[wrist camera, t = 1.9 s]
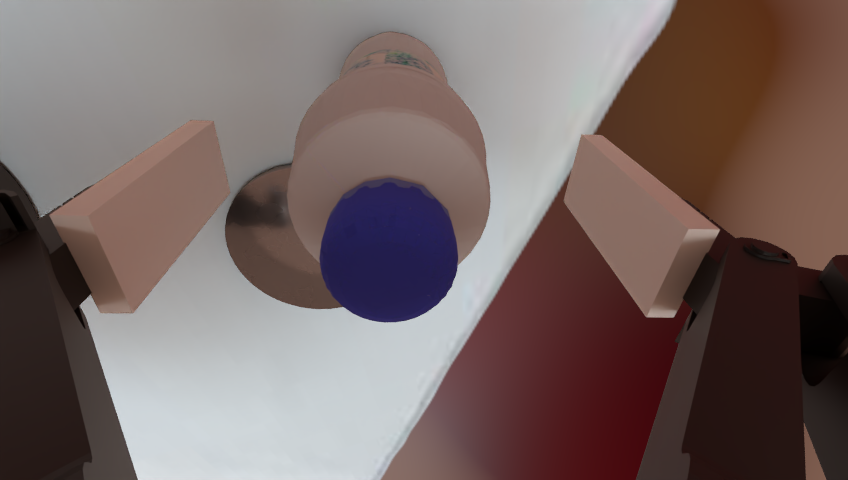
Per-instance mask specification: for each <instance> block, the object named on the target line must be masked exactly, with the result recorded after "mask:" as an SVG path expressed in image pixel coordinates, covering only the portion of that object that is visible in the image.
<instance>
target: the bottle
mask: <svg viewBox="0 0 848 480" xmlns="http://www.w3.org/2000/svg"><path fill="white" fill-rule="evenodd" d="M287 199H288V208H289V214H290V217H291V220H292V223H293V226H294V229H295V231H296V233H297V235H298V237H299V238H300V240H301V242H302V243H303V245H304V246H305V248H306V249H307V250H308V251H309V252H310V254H311V255H312V256H313V257H314V258H315V259H316V260H317V261H318V262H319V263H320V268H321V273H322V277H323V279H324V282H325V284H326V287H327V289H328V290H329V291H330V292H331V294H332V296H333V298H335V299H336V300H337V301H338V302H339V303H340V305H342V306H343V307H344V308H346V309H347V310H349V311H350V312H352V313H353V314H356V315H358V316H360V317H362V318H365V319H369V320H372V321H378V322H399V321H406V320H409V319H412V318H416V317H418V316H420V315H422V314H424V313H426V312H427V311H429V310H430V309H432V308H433V307H434V306H436V305H437V304H438V303H439V302H440V301H441V300H442V299H443V298H444V297H445V296H446V294H447V292H448V291H449V289H450V288H451V287H452V284H453V280H454V278H455V276H456V272H457V266H458V264H460V263H461V262H462V261H463V260H464V259H465V258H466V257H467V256H468V255H469V254H470V252H471V251H472V249H473V248H474V247H475V245H476V244H477V242H478V241H479V239H480V238H481V235H482V233H483V231H484V228H485V226H486V222H487V219H488V216H489V209H490V185H489V179H488V173H487V167H486V151H485V144H484V140H483V136H482V133H481V130H480V128H479V125H478V123H477V121H476V119H475V117H474V115H473V114H472V113H471V111H470V110H469V108H468V107H467V106H466V104H465V103H464V102H463V101H462V99H461V98H460V97H459V96H458V95H457V94H456V92H455V91H454V90H453V89H452V88H451V87H450V86H449V85H448V83H447V79H446V76H445V73H444V70H443V68H442V66H441V64H440V62H439V60H438V58H437V57H436V56H435V54H434V53H433V52H432V51H431V49H430V48H429V47H428V46H427V45H425V44H424V43H423V42H421V41H419V40H417V39H415V38H413V37H411V36H408V35H405V34H401V33H396V32H386V33H380V34H378V35H376V36H373V37H371V38H368V39H366V40H365V41H363V42H362V43H361V44H359V45H358V46H357V47H356V48H355V49H354V50H353V51H352V52H351V53H350V55H349V56H348V58H347V59H346V61H345V63H344V65H343V68H342V70H341V73H340V76H339V79H338V80H336V81H335V82H334V83H332V84H331V85H330V86H329V87H328V88H327V89H326V90H325V91H324V92H323V93H322V94H321V95H320V96H319V97H318V98H317V99H316V100H315V101H314V103H313V104H312V105H311V107H310V108H309V109H308V111H307V112H306V114H305V116H304V118H303V120H302V122H301V124H300V127H299V130H298V133H297V136H296V142H295V149H294V158H293V162H292V167H291V172H290V177H289V182H288V194H287Z"/></svg>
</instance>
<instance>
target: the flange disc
mask: <svg viewBox="0 0 848 480" xmlns="http://www.w3.org/2000/svg"><path fill="white" fill-rule="evenodd" d="M291 167H292V164H287V165H282V166H279V167H275V168H272V169H270V170H268V171H265V172H263V173H261V174H260V175H258V176H257V177H255V178H254V179H252V180H251V181H250V182H249V183H248V184H247V185H245V186H244V188H243V189H242V190H241V191H240V193H239V194H238V195H237V197H236V198H235V199H234V201H233V203H232V205H231V207H230V209H229V212H228V215H227V218H226V225H225V237H226V242H227V247H228V250H229V253H230V255H231V257H232V259H233V261H234V263H235V265H236V266H237V267H238V269H239V270H240V272H241V273H242V274H243V275H244V276H245V277H246V278H247V279H248V280H249V281H250V282H251V283H252V284H253V285H254V286H255V287H257V288H258V289H260V290H261V291H262V292H264V293H266V294H268V295H269V296H271V297H273V298H275V299H277V300H280V301H282V302H285V303H288V304H291V305H295V306H299V307H305V308H312V309H331V308H338V307H343V306H342V305H340V303H339V302H338V301H337V300H336V299H335V298H333V296H332V294H331V292H330V291H329V290H328V289H327V287H326V284H325V282H324V279H323V277H322V273H321V268H320V263H319V262H318V261H317V260H316V259H315V258H314V257H313V256H312V255H311V254H310V252H309V251H308V250H307V249H306V248H305V246H304V245H303V243H302V242H301V240H300V238H299V237H298V235H297V233H296V231H295V229H294V226H293V223H292V220H291V217H290V214H289V208H288V199H287V194H288V182H289V177H290V172H291Z"/></svg>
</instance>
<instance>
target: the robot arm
mask: <svg viewBox="0 0 848 480" xmlns="http://www.w3.org/2000/svg"><path fill="white" fill-rule="evenodd" d="M229 194H230V189H229V185H228V181H227V176H226V172H225V168H224V164H223V159H222V155H221V151H220V147H219V142H218V138H217V134H216V130H215V125H214V121H197V120H190V121H189V122H187V123H186V124H184V125H183V126H181V127H180V128H178V129H177V130H175V131H174V132H172V133H171V134H169V135H168V136H166V137H165V138H163V139H162V140H160V141H159V142H157V143H156V144H154V145H153V146H151V147H150V148H148V149H147V150H145V151H144V152H143V153H141V154H140V155H138V156H137V157H135V158H134V159H132V160H131V161H129V162H128V163H126V164H125V165H123V166H122V167H120V168H119V169H117V170H116V171H114V172H113V173H111V174H110V175H108V176H107V177H105V178H104V179H102V180H101V181H99V182H98V183H96V184H94V185H92V186H89V187H87V188H86V189H84V190H83V191H81V192H80V193H78V194H77V195H75V196H74V198H70V199H69V200H67V201H66V202H64V203H63V206H58V207H57V208H55V209H54V210H52V211H51V212H49V213H48V214H46V215H45V216H43V217H42V218H40V219H39V220H38V218H37V215H36V213H35V210H34V208H33V206H32V204H31V203H30V201H29V199H28V198H27V196H26V194H25V193H24V192H23V190H22V189H21V187H20V186H19V185H18V183H17V182H16V181H15V180H14V179H13V177H12V176H11V175H10V174H9V173H8V172H7V171H6V170H5V169H4V168H3V167H2V166H1V165H0V480H138V479H137V476H136V473H135V470H134V466H133V463H132V460H131V457H130V454H129V451H128V448H127V445H126V441H125V438H124V435H123V432H122V429H121V426H120V423H119V420H118V416H117V413H116V410H115V407H114V404H113V401H112V398H111V394H110V391H109V388H108V385H107V382H106V379H105V376H104V373H103V369H102V366H101V363H100V360H99V357H98V354H97V351H96V348H95V344H94V341H93V338H92V335H91V332H90V329H89V326H88V323H87V319H86V317H85V315H84V313H83V311H82V309H81V308H80V306H79V305H80V304H81V303H82V302H83V301H84V300H85V299H86V298H87V297H88V296H89V295H90V294H91V296H92V298H93V300H94V302H95V304H96V306H97V307H98V309H99V311H100V313H134V311H135V310H136V309H137V308H138V306H139V305H140V304H141V303H142V302H143V300H144V299H145V298H146V297H147V295H148V294H149V293H150V292H151V290H152V289H153V288H154V287H155V285H156V284H157V283H158V282H159V280H160V279H161V278H162V277H163V275H164V274H165V273H166V272H167V271H168V269H169V268H170V267H171V266H172V264H173V263H174V262H175V261H176V259H177V258H178V257H179V256H180V254H181V253H182V252H183V251H184V249H185V248H186V247H187V246H188V245H189V243H190V242H191V241H192V240H193V238H194V237H195V236H196V235H197V233H198V232H199V231H200V230H201V228H202V227H203V226H204V225H205V223H206V222H207V221H208V220H209V219H210V217H211V216H212V215H213V214H214V212H215V211H216V210H217V209H218V207H219V206H220V205H221V204H222V202H223V201H224V200H225V199H226V197H227V196H228V195H229ZM564 203H565V204H566V205H567V207H568V208H569V209H570V211H571V212H572V214H573V215H574V217H575V218H576V219H577V221H578V222H579V223H580V225H581V226H582V228H583V229H584V231H585V232H586V233H587V235H588V236H589V238H590V239H591V240H592V242H593V243H594V244H595V246H596V247H597V249H598V250H599V251H600V253H601V254H602V256H603V257H604V258H605V260H606V261H607V263H608V264H609V266H610V267H611V268H612V269H613V271H614V273H615V274H616V275H617V277H618V278H619V279H620V281H621V282H622V284H623V285H624V286H625V288H626V289H627V291H628V292H629V294H630V295H631V296H632V298H633V299H634V301H635V302H636V303H637V305H638V306H639V308H640V309H641V310H642V312H643V313H644V315H645V316H646V317H674V316H675V314H676V312H677V310H678V308H679V307H680V305H681V303H682V301H683V299H684V300H685V301H686V303H687V304H688V305H689V306H690V307H691V308H692V309H693V310H692V311H691V313H690V315H689V317H688V319H687V320H686V322H685V324H684V326H683V328H682V330H681V331H680V333H679V335H678V337H677V338H676V340H675V342H677V343H679V345H678V349H677V352H676V355H675V358H674V362H673V364H672V368H671V371H670V374H669V377H668V381H667V384H666V387H665V390H664V393H663V396H662V399H661V403H660V406H659V409H658V412H657V415H656V418H655V422H654V425H653V428H652V431H651V434H650V437H649V441H648V444H647V447H646V451H645V453H644V456H643V460H642V463H641V466H640V470H639V472H638V476H637V479H636V480H806V474H805V447H804V423H805V426H806V428H807V431H808V433H809V436H810V438H811V441H812V444H813V446H814V449H815V451H816V454H817V456H818V459H819V461H820V464H821V467H822V469H823V472H824V474H825V477H826V479H827V480H848V255H836V256H835V257H833V258H832V259H831V260H830V262H829V263H828V264H827V266H826V267H825V269H824V270H823V271H820V270H815V269H809V268H804V267H799V266H797V262H796V260H795V258H794V257H793V256H791V254H789V253H788V252H787V251H785V250H783V249H781V248H779V247H777V246H775V245H773V244H771V243H768V242H765V241H761V240H757V239H753V238H743V237H740V238H735V237H733V236H732V235H731V234H730V233H728V232H727V231H726V230H724V229H723V228H722V227H721V226H719V225H718V224H717V223H716V222H714V221H713V220H709V217H708V216H707V215H705V214H704V213H703V212H700V210H699V209H698V208H696V207H695V206H694V205H693V204H691V203H690V202H689V201H687V200H684V199H683V198H680V197H678V196H677V195H676V194H675V193H674V192H672V191H671V190H670V189H669V188H667V187H666V186H665V185H664V184H662V183H661V182H660V181H659V180H657V179H656V178H655V177H653V176H652V175H651V174H650V173H648V172H647V171H646V170H645V169H643V168H642V167H641V166H640V165H638V164H637V163H636V162H635V161H633V160H632V159H631V158H630V157H628V156H627V155H626V154H625V153H623V152H622V151H621V150H620V149H618V148H617V147H616V146H615V145H613V144H612V143H611V142H610V141H608V140H607V139H606V138H605V137H603V136H602V135H581V138H580V142H579V146H578V150H577V153H576V157H575V161H574V164H573V168H572V172H571V176H570V179H569V183H568V187H567V191H566V194H565V198H564Z"/></svg>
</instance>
